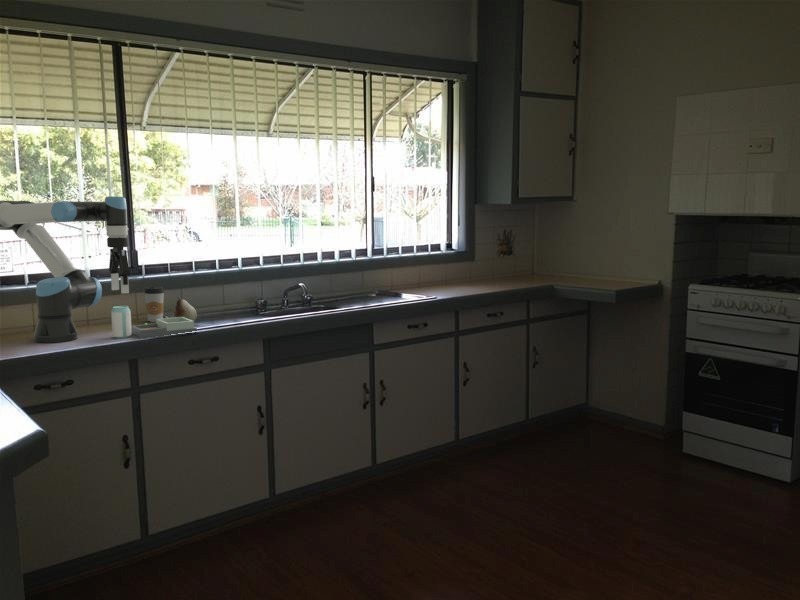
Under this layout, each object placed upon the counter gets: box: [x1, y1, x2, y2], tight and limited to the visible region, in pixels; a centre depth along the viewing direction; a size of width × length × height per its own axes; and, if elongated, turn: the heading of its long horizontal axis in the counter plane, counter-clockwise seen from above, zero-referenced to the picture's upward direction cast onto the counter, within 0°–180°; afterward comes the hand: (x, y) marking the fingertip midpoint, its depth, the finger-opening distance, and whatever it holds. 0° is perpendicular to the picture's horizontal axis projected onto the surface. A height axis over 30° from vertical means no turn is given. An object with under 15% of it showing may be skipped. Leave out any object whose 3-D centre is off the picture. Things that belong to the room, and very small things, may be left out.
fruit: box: [173, 297, 198, 322], centre depth 304 cm, size 10×9×12 cm
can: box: [110, 305, 133, 339], centre depth 276 cm, size 7×7×12 cm
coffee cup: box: [144, 286, 165, 323], centre depth 315 cm, size 8×8×15 cm
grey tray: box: [131, 317, 198, 339], centre depth 284 cm, size 22×14×5 cm, turn 126°
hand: (120, 291), depth 274 cm, fingers open, 13 cm apart
